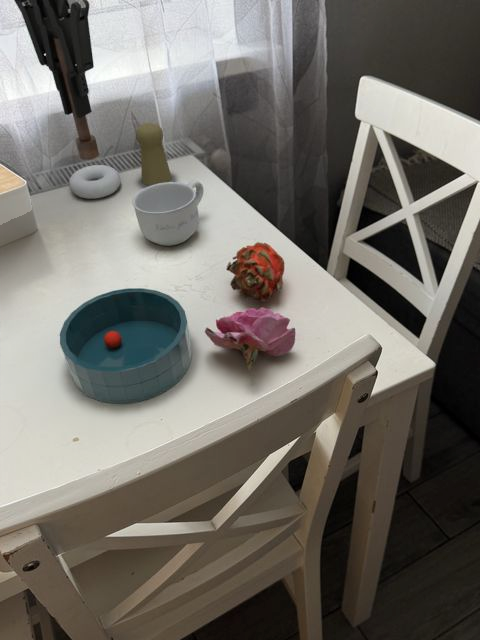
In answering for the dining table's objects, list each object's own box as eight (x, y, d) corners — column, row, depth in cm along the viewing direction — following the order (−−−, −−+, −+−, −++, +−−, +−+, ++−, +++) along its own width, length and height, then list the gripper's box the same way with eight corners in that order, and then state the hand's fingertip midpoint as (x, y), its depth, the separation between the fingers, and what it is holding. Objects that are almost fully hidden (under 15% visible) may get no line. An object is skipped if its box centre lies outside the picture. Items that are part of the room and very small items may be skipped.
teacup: (161, 261, 100) (153, 219, 94) (128, 234, 106) (119, 194, 101) (227, 230, 106) (224, 189, 101) (192, 207, 112) (187, 167, 107)
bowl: (45, 375, 81) (32, 342, 77) (125, 307, 91) (118, 275, 87) (139, 422, 75) (130, 389, 70) (214, 343, 85) (210, 311, 81)
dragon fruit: (258, 325, 90) (250, 286, 99) (303, 291, 87) (290, 255, 97) (221, 288, 85) (216, 252, 95) (267, 252, 83) (257, 218, 93)
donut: (105, 173, 124) (62, 189, 119) (102, 157, 121) (57, 173, 117) (132, 189, 118) (87, 207, 113) (129, 173, 116) (83, 190, 111)
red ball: (111, 344, 85) (106, 329, 84) (126, 343, 84) (121, 327, 84) (103, 351, 83) (98, 335, 82) (118, 350, 82) (114, 334, 81)
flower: (228, 349, 88) (254, 288, 86) (281, 382, 84) (310, 319, 82) (181, 353, 79) (208, 284, 76) (238, 391, 74) (269, 320, 72)
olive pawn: (144, 188, 118) (134, 134, 111) (140, 174, 123) (130, 122, 115) (174, 183, 119) (166, 129, 112) (169, 170, 124) (161, 117, 116)
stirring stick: (75, 157, 103) (43, 38, 90) (88, 149, 105) (59, 31, 92) (89, 161, 101) (59, 41, 88) (103, 153, 103) (75, 34, 90)
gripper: (95, -60, 81) (128, 113, 97) (19, -66, 87) (61, 97, 103) (55, -49, 77) (96, 130, 93) (-23, -57, 82) (29, 113, 99)
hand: (78, 112), depth 98 cm, fingers closed on stirring stick, 2 cm apart
